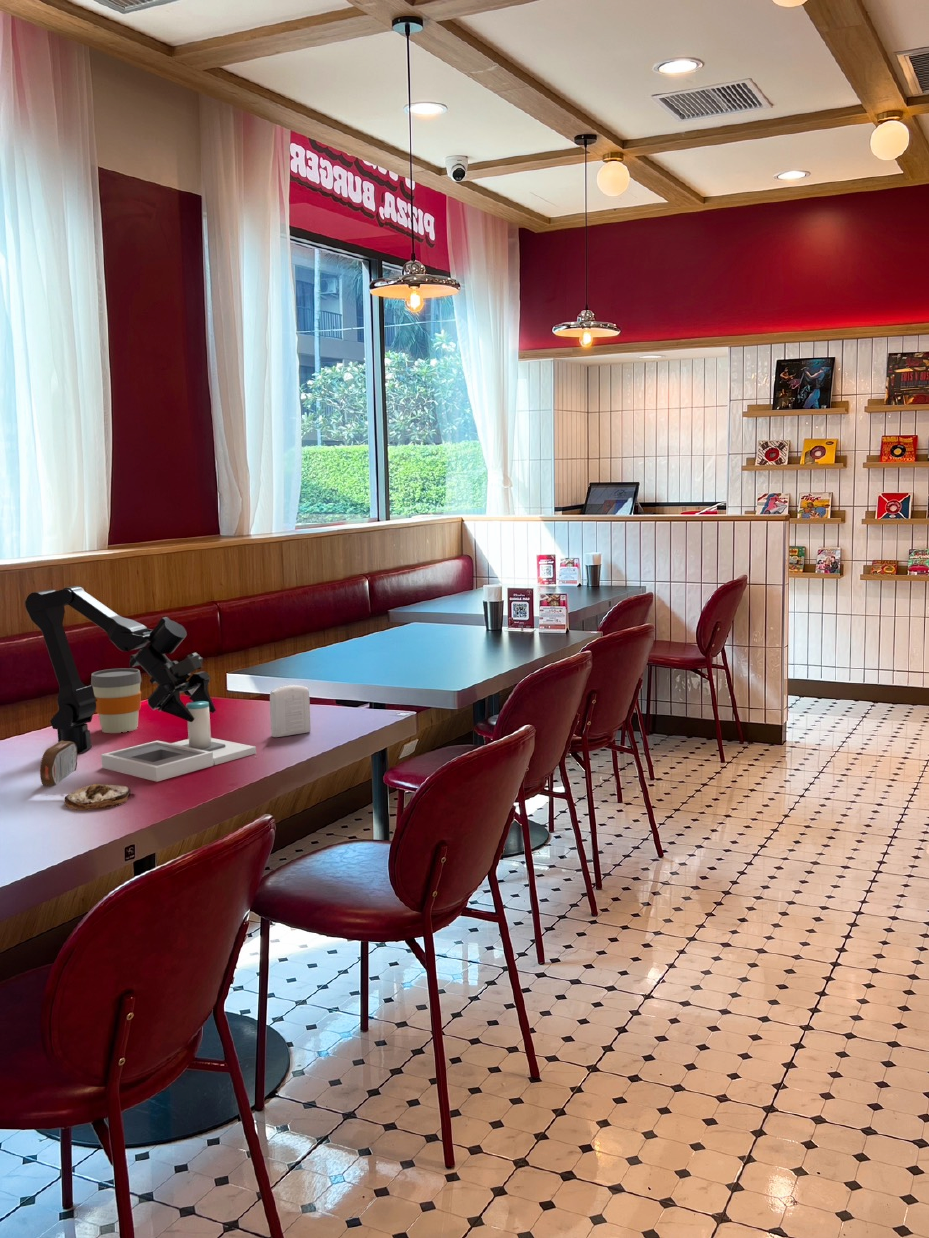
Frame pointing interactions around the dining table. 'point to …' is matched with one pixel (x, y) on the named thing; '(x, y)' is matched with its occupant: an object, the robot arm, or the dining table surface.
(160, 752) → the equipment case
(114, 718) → the reusable coffee cup
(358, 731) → the dining table surface
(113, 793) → the brown topped flatbread
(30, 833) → the dining table surface
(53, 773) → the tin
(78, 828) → the dining table surface
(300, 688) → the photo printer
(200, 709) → the ball
